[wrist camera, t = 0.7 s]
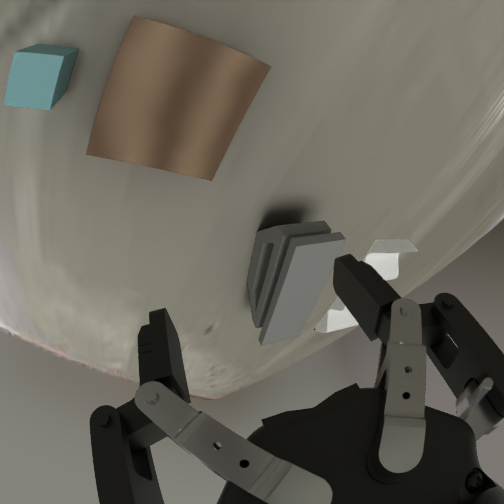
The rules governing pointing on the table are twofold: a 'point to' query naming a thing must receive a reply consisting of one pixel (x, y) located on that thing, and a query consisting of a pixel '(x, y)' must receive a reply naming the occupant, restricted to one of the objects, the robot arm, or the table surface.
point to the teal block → (39, 76)
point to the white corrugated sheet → (386, 265)
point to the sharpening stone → (289, 276)
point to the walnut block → (173, 100)
